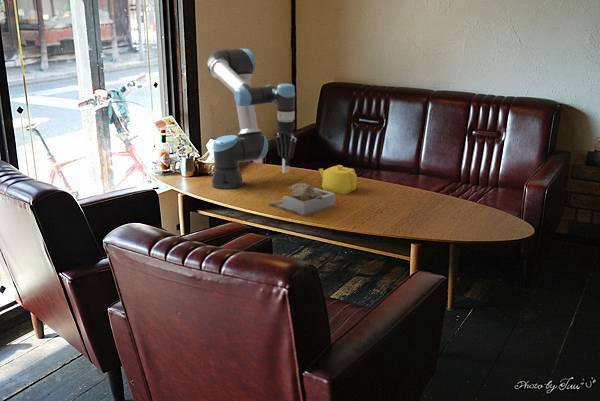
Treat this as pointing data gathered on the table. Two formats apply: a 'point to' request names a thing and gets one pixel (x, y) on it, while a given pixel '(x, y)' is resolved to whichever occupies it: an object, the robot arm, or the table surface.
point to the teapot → (338, 179)
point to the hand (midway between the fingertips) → (285, 172)
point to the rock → (302, 192)
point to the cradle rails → (310, 202)
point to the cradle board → (279, 205)
